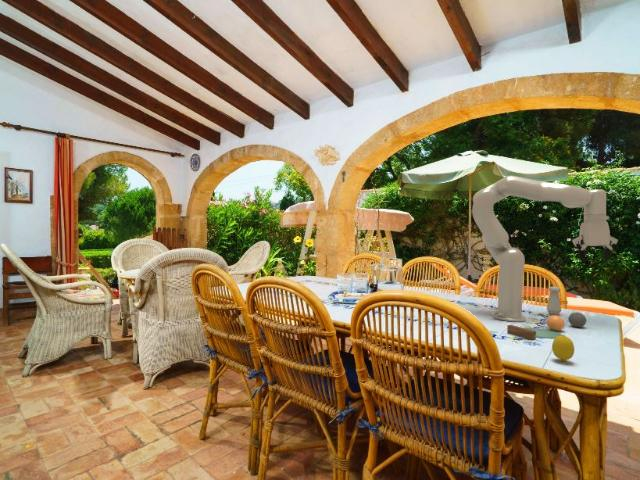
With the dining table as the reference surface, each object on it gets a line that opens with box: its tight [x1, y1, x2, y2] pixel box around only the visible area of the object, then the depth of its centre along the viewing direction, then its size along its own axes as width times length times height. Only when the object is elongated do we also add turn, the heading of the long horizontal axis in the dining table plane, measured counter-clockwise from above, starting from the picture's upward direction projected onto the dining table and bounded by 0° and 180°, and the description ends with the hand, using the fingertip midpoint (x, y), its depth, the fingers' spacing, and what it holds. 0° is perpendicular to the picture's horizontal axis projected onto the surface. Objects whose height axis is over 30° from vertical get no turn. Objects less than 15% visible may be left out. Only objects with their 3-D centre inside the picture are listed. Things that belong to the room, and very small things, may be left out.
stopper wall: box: [506, 324, 537, 341], centre depth 136 cm, size 2×10×3 cm, turn 25°
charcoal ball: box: [568, 311, 587, 328], centre depth 151 cm, size 6×6×6 cm
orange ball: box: [546, 315, 566, 332], centre depth 145 cm, size 6×6×6 cm
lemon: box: [551, 334, 575, 362], centre depth 110 cm, size 6×6×8 cm
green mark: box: [524, 327, 563, 339], centre depth 141 cm, size 14×14×1 cm
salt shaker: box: [546, 286, 562, 316], centre depth 174 cm, size 6×6×13 cm
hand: (594, 259), depth 156 cm, fingers open, 9 cm apart
